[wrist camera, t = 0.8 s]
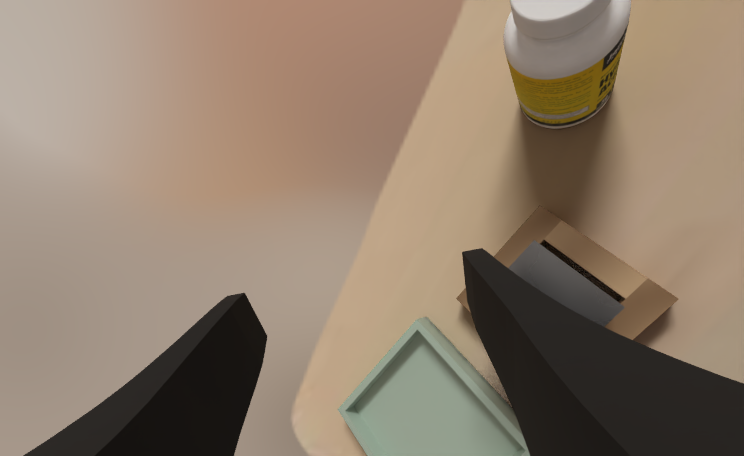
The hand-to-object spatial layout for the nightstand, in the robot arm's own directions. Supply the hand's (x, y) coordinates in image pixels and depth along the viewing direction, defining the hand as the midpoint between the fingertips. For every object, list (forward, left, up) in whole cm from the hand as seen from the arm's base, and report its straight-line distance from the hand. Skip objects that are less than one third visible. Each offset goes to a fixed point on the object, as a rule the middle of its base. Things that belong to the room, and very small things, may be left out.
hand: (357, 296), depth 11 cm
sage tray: (-4, +9, -15) cm, 18 cm away
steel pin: (-4, -3, -15) cm, 15 cm away
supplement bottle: (+4, -14, -15) cm, 21 cm away
